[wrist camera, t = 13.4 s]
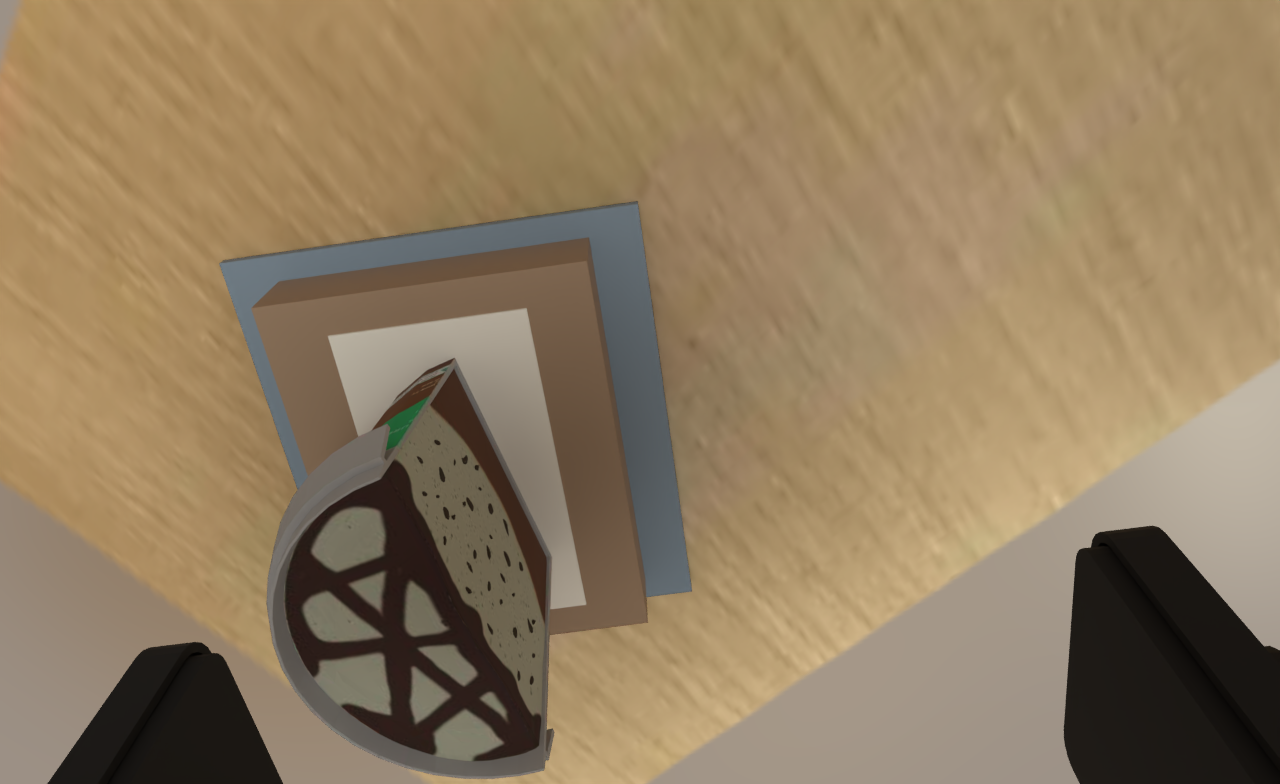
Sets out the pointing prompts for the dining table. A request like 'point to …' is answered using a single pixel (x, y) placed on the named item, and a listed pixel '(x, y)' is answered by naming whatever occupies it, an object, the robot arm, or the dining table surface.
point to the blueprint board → (495, 378)
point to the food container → (419, 592)
